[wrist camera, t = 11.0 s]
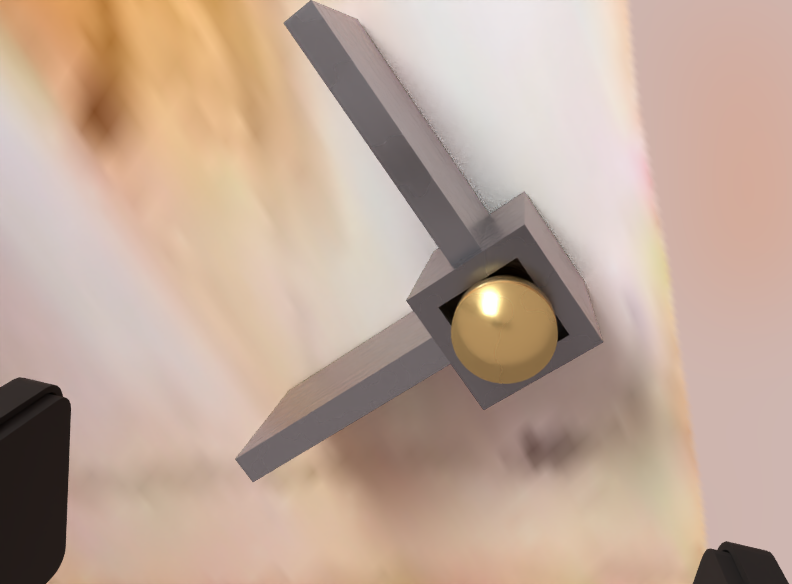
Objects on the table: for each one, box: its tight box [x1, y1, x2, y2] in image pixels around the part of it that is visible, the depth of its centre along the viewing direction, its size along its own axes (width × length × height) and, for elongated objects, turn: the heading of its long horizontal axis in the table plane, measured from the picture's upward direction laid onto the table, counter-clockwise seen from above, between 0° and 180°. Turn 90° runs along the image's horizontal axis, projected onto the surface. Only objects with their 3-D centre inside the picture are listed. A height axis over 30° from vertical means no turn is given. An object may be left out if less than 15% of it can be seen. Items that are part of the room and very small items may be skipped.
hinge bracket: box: [235, 0, 603, 482], centre depth 29 cm, size 15×15×8 cm
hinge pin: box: [451, 258, 558, 384], centre depth 28 cm, size 3×3×10 cm
